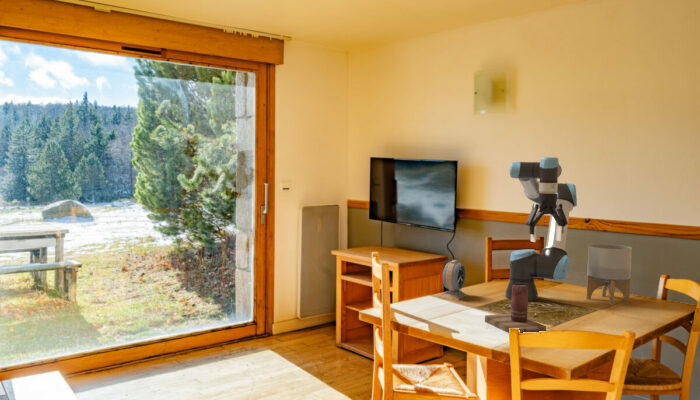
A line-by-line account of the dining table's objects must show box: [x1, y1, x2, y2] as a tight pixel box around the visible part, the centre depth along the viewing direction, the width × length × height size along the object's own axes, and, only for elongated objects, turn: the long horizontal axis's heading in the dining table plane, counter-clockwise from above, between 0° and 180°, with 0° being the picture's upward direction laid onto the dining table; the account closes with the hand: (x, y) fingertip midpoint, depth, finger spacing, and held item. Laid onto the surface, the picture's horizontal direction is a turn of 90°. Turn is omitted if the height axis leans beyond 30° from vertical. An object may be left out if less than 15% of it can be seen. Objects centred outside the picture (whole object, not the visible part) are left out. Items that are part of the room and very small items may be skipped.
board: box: [484, 312, 547, 334], centre depth 213 cm, size 22×14×2 cm, turn 19°
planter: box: [585, 243, 633, 306], centre depth 263 cm, size 19×19×26 cm
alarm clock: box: [439, 259, 468, 301], centre depth 265 cm, size 14×10×18 cm
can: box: [510, 284, 529, 322], centre depth 215 cm, size 6×6×14 cm
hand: (546, 241), depth 239 cm, fingers open, 13 cm apart
